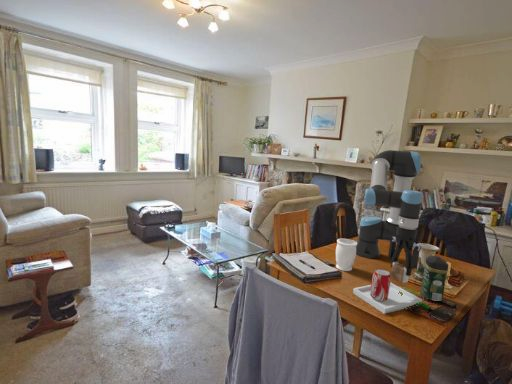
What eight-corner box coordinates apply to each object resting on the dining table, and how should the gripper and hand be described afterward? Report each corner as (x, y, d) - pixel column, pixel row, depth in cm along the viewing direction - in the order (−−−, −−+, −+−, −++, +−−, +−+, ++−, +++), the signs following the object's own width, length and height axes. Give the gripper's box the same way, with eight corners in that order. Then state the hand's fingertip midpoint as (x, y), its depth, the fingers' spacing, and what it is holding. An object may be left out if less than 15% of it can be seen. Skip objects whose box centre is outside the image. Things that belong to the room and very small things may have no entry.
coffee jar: (418, 290, 133) (424, 252, 130) (437, 294, 131) (444, 255, 128) (423, 300, 124) (430, 260, 121) (444, 304, 122) (452, 263, 119)
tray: (387, 285, 136) (388, 281, 136) (421, 304, 121) (422, 299, 121) (352, 292, 127) (353, 288, 126) (384, 314, 112) (385, 308, 111)
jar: (355, 273, 147) (358, 245, 145) (334, 270, 149) (337, 243, 147) (352, 265, 157) (355, 239, 155) (333, 262, 159) (336, 237, 157)
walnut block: (390, 277, 125) (392, 264, 124) (398, 276, 127) (400, 263, 126) (400, 283, 120) (402, 269, 119) (408, 281, 123) (410, 268, 122)
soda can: (385, 304, 117) (389, 277, 115) (367, 298, 121) (371, 272, 119) (389, 297, 123) (392, 271, 121) (371, 292, 127) (375, 266, 125)
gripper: (383, 221, 127) (376, 271, 130) (421, 234, 110) (412, 290, 114) (395, 221, 130) (387, 269, 133) (433, 232, 114) (424, 287, 117)
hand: (399, 278), depth 124 cm, fingers closed on walnut block, 5 cm apart
